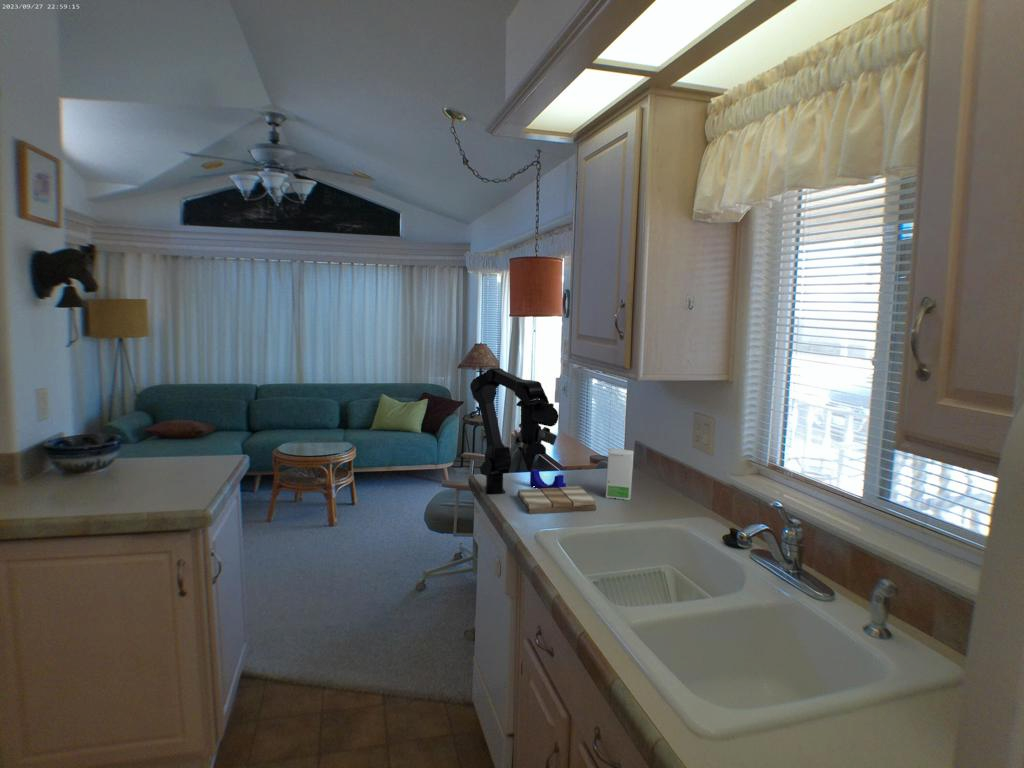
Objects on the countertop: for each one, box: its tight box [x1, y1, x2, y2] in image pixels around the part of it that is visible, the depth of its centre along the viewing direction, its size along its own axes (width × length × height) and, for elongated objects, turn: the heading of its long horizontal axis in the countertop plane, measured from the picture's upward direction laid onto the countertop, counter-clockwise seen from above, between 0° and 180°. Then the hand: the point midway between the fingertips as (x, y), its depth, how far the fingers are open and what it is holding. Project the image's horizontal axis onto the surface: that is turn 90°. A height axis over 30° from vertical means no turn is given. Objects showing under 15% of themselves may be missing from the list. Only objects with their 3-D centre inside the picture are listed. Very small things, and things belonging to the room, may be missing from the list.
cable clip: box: [529, 468, 567, 489], centre depth 208 cm, size 12×4×6 cm, turn 50°
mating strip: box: [540, 488, 572, 507], centre depth 193 cm, size 16×6×1 cm, turn 11°
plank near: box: [517, 488, 552, 508], centre depth 191 cm, size 16×7×1 cm, turn 11°
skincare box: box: [605, 447, 634, 501], centre depth 200 cm, size 8×7×16 cm
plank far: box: [559, 485, 596, 506], centre depth 194 cm, size 16×7×1 cm, turn 11°
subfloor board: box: [516, 492, 597, 515], centre depth 193 cm, size 18×21×2 cm
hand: (528, 470), depth 190 cm, fingers closed
